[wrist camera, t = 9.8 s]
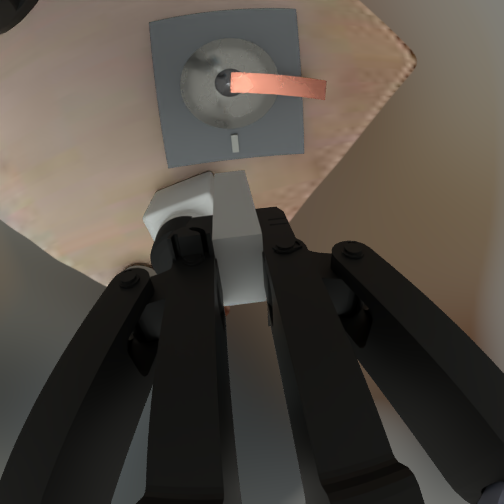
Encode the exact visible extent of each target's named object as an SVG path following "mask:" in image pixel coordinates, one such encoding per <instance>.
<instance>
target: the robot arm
mask: <svg viewBox="0 0 504 504" xmlns="http://www.w3.org/2000/svg"><path fill="white" fill-rule="evenodd" d="M37 1H38V0H0V34H2V33H4V32H6V31H8V30H10V29H11V28H12V27H14V26H15V25H16V24H17V23H19V22H20V21H21V20H22V19H23V18H24V17H25V16H26V15H27V13H28V12H29V11H30V10H31V9H32V8H33V6H34V5H35V4H36V2H37ZM167 242H168V246H169V250H170V254H171V257H172V261H173V262H172V267H171V269H169V270H167V271H165V272H163V273H160V274H157V275H154V276H151V277H150V275H149V272H148V271H147V270H145V269H143V268H130V269H126V270H124V271H122V272H121V273H119V274H117V275H116V276H115V277H114V278H113V279H112V281H111V282H110V284H109V285H108V286H107V288H106V289H105V291H104V292H103V293H102V295H101V296H100V298H99V299H98V300H97V302H96V304H95V305H94V306H93V308H92V309H91V311H90V312H89V314H88V315H87V317H86V318H85V320H84V321H83V323H82V324H81V326H80V327H79V329H78V330H77V332H76V333H75V335H74V337H73V338H72V340H71V341H70V343H69V344H68V346H67V348H66V350H65V351H64V353H63V354H62V356H61V358H60V359H59V361H58V363H57V364H56V366H55V368H54V370H53V371H52V373H51V375H50V376H49V378H48V380H47V382H46V384H45V385H44V387H43V389H42V391H41V393H40V394H39V396H38V398H37V400H36V402H35V404H34V406H33V408H32V410H31V412H30V414H29V416H28V418H27V420H26V422H25V424H24V426H23V428H22V430H21V432H20V434H19V436H18V439H17V441H16V443H15V445H14V448H13V450H12V452H11V455H10V457H9V459H8V462H7V464H6V467H5V469H4V472H3V474H2V477H1V480H0V504H111V500H112V497H113V494H114V491H115V488H116V485H117V482H118V479H119V476H120V473H121V470H122V467H123V464H124V461H125V458H126V456H127V452H128V450H129V447H130V444H131V441H132V439H133V436H134V433H135V430H136V428H137V425H138V422H139V419H140V417H141V414H142V411H143V409H144V406H145V403H146V401H147V398H148V396H149V393H150V390H151V388H152V385H153V391H152V401H151V411H150V422H149V435H148V451H147V472H146V490H145V494H144V496H143V497H142V498H141V499H140V500H139V501H138V502H137V503H136V504H242V502H241V493H240V484H239V476H238V466H237V456H236V446H235V435H234V425H233V414H232V401H231V389H230V376H229V363H228V349H227V333H226V316H225V311H224V306H230V305H237V304H246V303H254V302H262V301H266V297H267V306H268V325H269V326H271V330H272V334H273V339H274V345H275V349H276V354H277V359H278V364H279V369H280V374H281V379H282V383H283V389H284V394H285V398H286V404H287V409H288V414H289V418H290V424H291V429H292V433H293V439H294V444H295V449H296V453H297V459H298V463H299V469H300V474H301V479H302V484H303V488H304V493H305V500H306V504H424V500H423V497H422V494H421V491H420V487H419V484H418V482H417V480H416V478H415V476H414V474H413V473H412V471H411V470H410V469H409V468H408V467H407V466H405V465H403V464H401V463H399V462H398V461H397V460H396V458H395V457H394V455H393V453H392V450H391V447H390V444H389V441H388V438H387V436H386V433H385V430H384V427H383V425H382V422H381V419H380V416H379V414H378V411H377V408H376V406H375V403H374V401H373V398H372V395H371V393H370V390H369V388H368V385H367V383H366V380H365V378H364V375H363V373H362V370H361V368H360V365H359V363H358V360H359V362H360V363H361V365H362V366H363V367H364V368H365V370H366V371H367V372H368V374H369V375H370V376H371V378H372V379H373V380H374V382H375V383H376V384H377V386H378V387H379V388H380V390H381V391H382V392H383V394H384V395H385V397H386V398H387V399H388V400H389V402H390V403H391V405H392V406H393V407H394V409H395V410H396V411H397V413H398V414H399V415H400V417H401V418H402V419H403V421H404V422H405V424H406V425H407V426H408V428H409V429H410V430H411V432H412V433H413V435H414V436H415V437H416V439H417V440H418V441H419V443H420V444H421V446H422V447H423V448H424V450H425V451H426V453H427V454H428V455H429V457H430V458H431V460H432V461H433V462H434V464H435V465H436V467H437V468H438V469H439V471H440V472H441V473H442V475H443V476H444V478H445V479H446V481H447V482H448V483H449V484H450V485H451V487H452V488H453V489H454V491H455V492H456V493H458V494H459V495H460V496H461V497H462V498H463V499H464V500H465V501H467V502H469V503H470V504H504V373H503V372H502V371H501V370H500V369H499V368H498V367H497V366H496V365H495V363H494V362H493V361H492V360H491V359H490V358H489V357H488V356H487V355H486V354H485V353H484V352H483V351H482V350H481V349H480V348H479V347H478V346H477V345H476V344H475V342H473V340H471V339H470V337H469V336H467V334H466V333H465V332H464V331H462V330H461V329H460V327H458V326H457V325H456V324H455V323H454V322H453V321H452V320H451V319H450V318H449V317H448V316H447V315H446V314H445V313H444V312H443V311H442V310H441V309H439V308H438V307H437V306H436V305H435V304H434V303H433V302H432V301H431V300H430V299H429V298H428V297H426V295H424V294H423V293H422V292H421V291H420V290H419V289H418V288H417V287H415V286H414V285H413V284H412V283H411V282H410V281H408V279H406V278H405V277H404V276H403V275H402V274H400V273H399V272H398V271H397V270H396V269H395V268H394V267H392V266H391V265H390V264H389V263H388V262H386V261H385V260H384V259H383V258H381V257H380V256H379V255H378V254H377V253H375V252H374V251H373V250H372V249H371V248H370V247H368V246H366V245H365V244H363V243H359V242H356V241H343V242H339V243H337V244H335V245H334V247H333V248H332V254H329V253H317V252H312V251H309V250H308V249H307V247H306V245H305V244H304V243H303V242H302V241H301V240H299V239H297V238H296V237H295V235H294V233H293V231H292V229H291V227H290V225H289V222H288V220H287V219H286V216H285V214H284V212H283V211H282V210H280V209H279V208H277V207H269V208H259V209H255V206H254V203H253V199H252V196H251V192H250V189H249V185H248V182H247V178H246V174H245V171H244V170H241V171H232V172H223V173H215V174H214V197H213V215H208V216H201V217H193V218H191V219H190V220H189V222H188V223H187V224H186V227H182V228H179V229H177V230H175V231H173V232H172V233H171V234H169V236H168V238H167ZM223 303H224V306H223ZM357 359H358V360H357Z"/></svg>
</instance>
